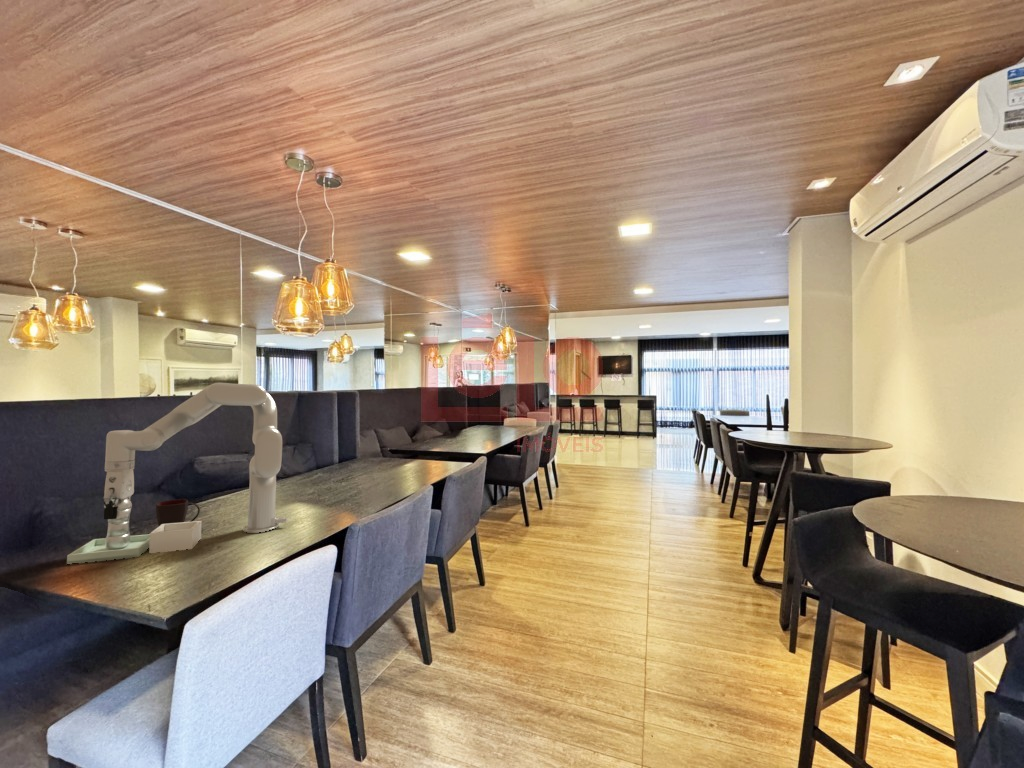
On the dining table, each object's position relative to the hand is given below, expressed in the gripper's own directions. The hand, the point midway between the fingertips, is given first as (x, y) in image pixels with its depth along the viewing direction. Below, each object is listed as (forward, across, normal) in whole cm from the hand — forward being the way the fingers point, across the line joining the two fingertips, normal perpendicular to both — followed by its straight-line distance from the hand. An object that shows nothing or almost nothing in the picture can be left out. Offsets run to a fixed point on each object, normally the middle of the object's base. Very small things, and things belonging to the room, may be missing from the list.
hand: (117, 515), depth 143 cm
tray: (+13, 0, 0) cm, 13 cm away
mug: (+13, +19, -12) cm, 26 cm away
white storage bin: (+13, 0, -17) cm, 21 cm away
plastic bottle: (+12, +1, 0) cm, 12 cm away
